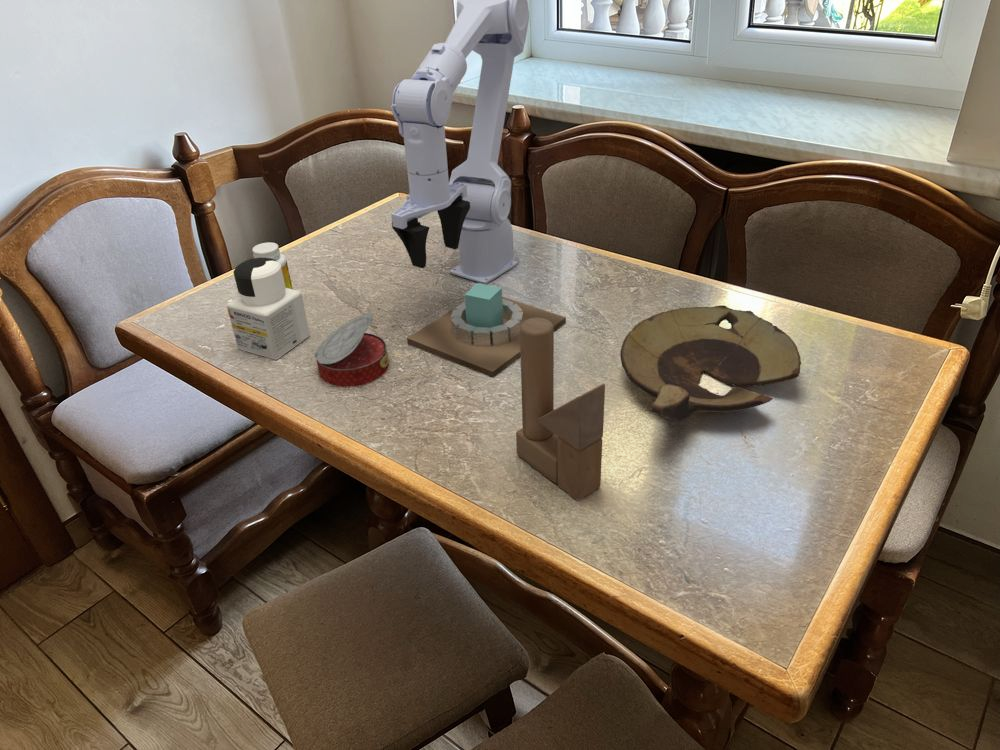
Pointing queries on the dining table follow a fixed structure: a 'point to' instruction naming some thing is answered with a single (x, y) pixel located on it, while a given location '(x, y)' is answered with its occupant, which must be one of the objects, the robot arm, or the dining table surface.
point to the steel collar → (487, 335)
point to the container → (266, 310)
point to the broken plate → (706, 359)
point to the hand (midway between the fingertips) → (435, 256)
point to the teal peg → (484, 306)
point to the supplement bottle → (273, 252)
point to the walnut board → (477, 358)
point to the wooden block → (557, 418)
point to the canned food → (352, 354)
